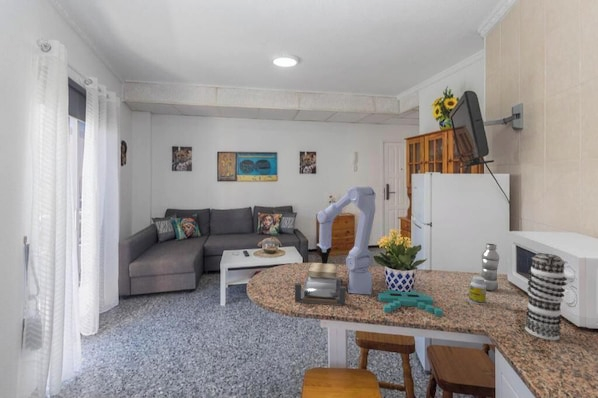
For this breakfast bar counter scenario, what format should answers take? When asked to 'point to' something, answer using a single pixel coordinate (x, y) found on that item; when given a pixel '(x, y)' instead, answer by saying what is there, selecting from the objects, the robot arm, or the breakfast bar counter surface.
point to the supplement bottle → (477, 290)
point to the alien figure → (407, 301)
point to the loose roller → (320, 293)
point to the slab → (323, 270)
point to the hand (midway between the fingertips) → (324, 263)
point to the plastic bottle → (490, 267)
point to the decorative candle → (545, 296)
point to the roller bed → (323, 284)
